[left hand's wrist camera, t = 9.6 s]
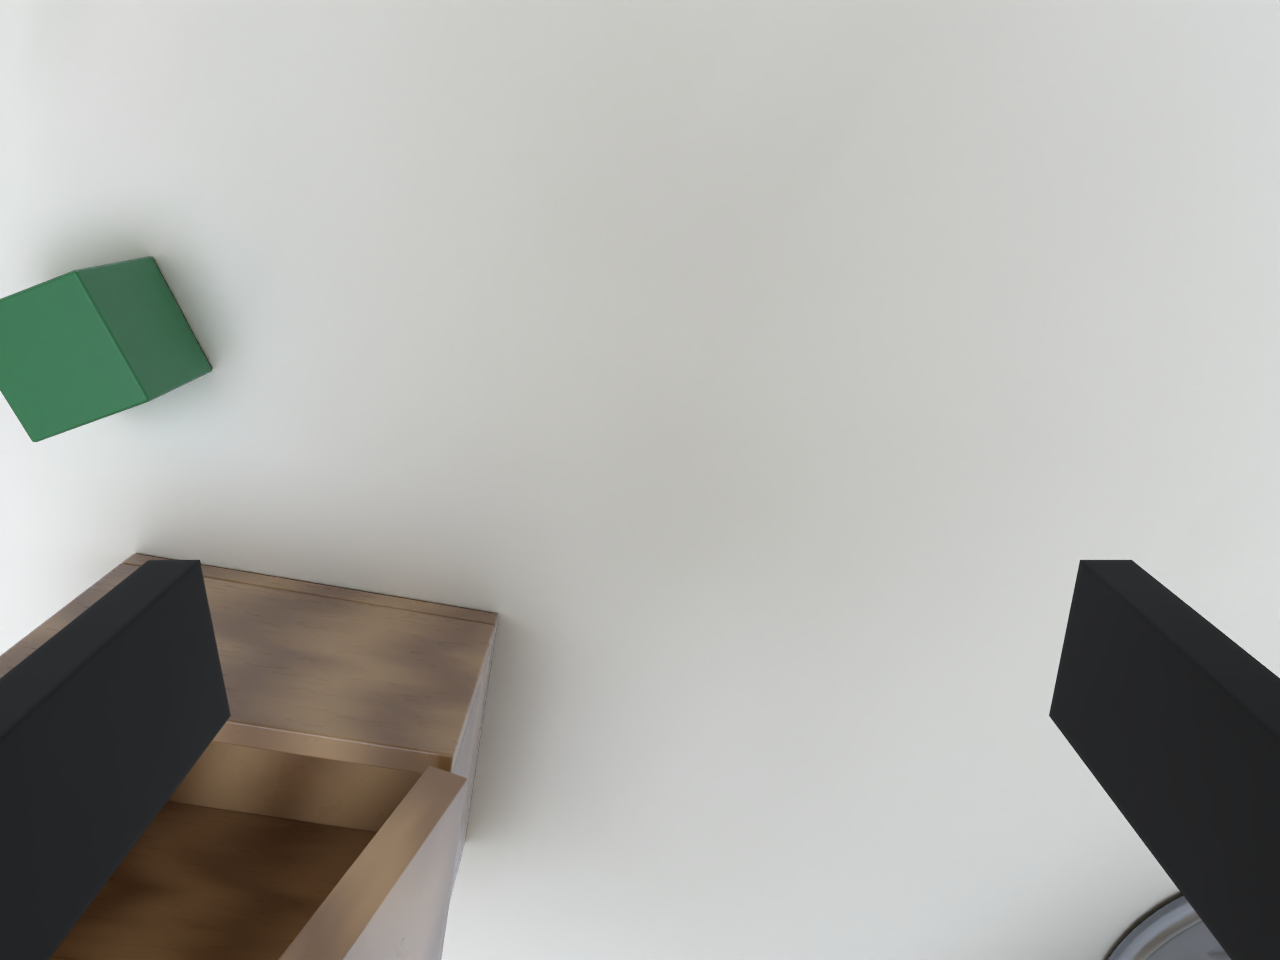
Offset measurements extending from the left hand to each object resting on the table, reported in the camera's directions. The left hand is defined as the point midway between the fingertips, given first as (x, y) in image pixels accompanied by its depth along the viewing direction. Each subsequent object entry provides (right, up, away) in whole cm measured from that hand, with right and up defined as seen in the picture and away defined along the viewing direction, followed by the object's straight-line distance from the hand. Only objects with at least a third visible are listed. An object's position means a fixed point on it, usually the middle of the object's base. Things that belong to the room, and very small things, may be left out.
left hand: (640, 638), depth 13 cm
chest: (-14, -7, +23) cm, 27 cm away
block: (-18, +8, +17) cm, 26 cm away
